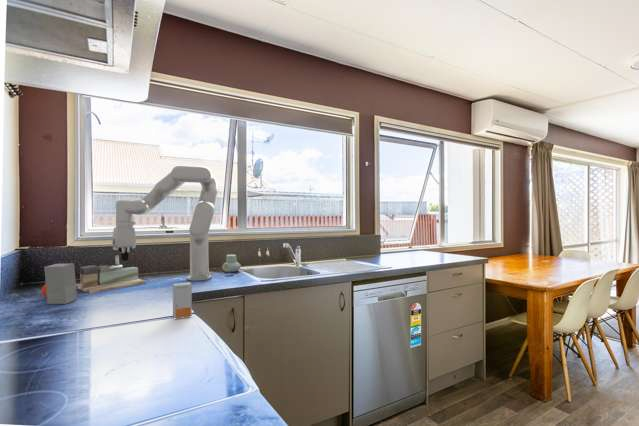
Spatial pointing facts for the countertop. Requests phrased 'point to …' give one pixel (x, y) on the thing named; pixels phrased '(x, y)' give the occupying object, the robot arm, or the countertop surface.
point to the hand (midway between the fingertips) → (124, 260)
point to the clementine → (44, 290)
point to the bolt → (116, 264)
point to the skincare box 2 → (182, 300)
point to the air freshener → (231, 264)
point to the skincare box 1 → (60, 283)
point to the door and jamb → (107, 278)
